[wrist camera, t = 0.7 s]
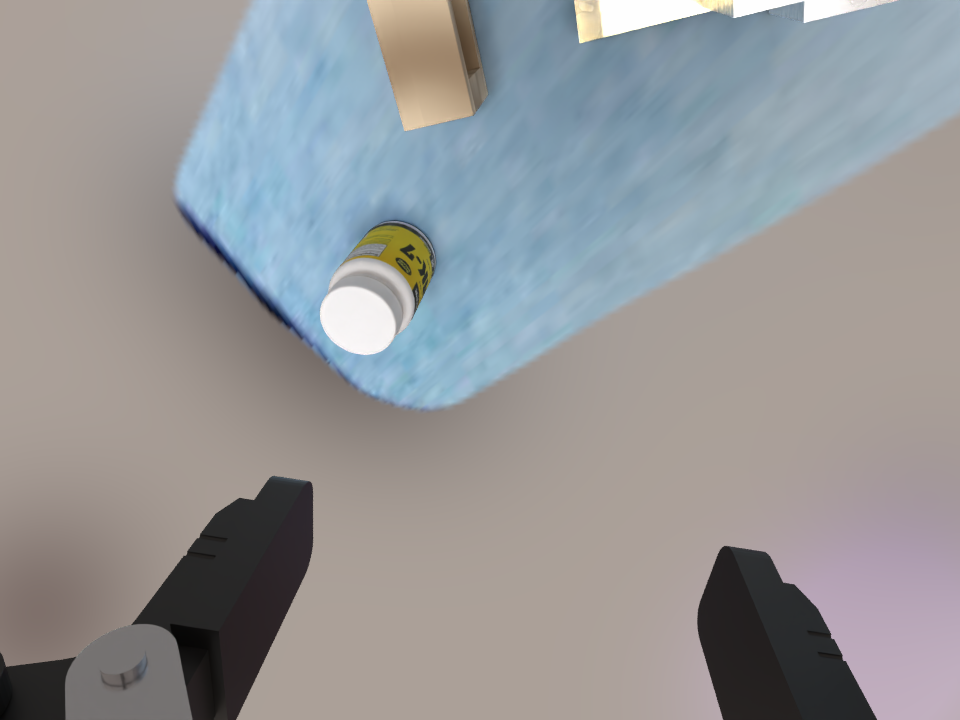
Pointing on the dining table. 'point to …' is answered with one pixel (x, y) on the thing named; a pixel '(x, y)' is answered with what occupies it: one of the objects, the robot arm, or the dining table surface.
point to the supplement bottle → (378, 288)
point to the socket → (430, 59)
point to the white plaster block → (822, 8)
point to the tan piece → (654, 13)
